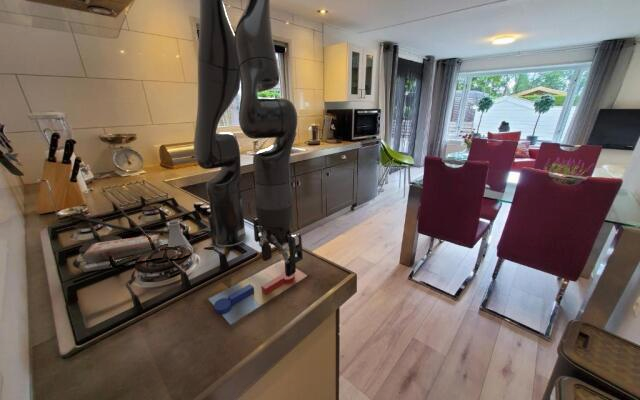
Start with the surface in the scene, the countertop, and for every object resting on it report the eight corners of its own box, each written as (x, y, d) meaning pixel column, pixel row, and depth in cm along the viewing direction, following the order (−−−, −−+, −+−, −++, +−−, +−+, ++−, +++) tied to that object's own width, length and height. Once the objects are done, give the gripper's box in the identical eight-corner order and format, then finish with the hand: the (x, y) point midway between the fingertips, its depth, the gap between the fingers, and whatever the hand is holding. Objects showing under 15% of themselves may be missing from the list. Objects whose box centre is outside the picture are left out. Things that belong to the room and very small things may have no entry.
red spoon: (268, 297, 56) (267, 291, 55) (259, 290, 58) (258, 283, 58) (297, 279, 62) (297, 273, 61) (288, 273, 64) (288, 267, 64)
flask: (191, 244, 77) (185, 214, 74) (196, 255, 72) (190, 224, 68) (164, 251, 73) (156, 221, 70) (167, 263, 68) (159, 231, 64)
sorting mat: (230, 327, 49) (230, 324, 49) (208, 300, 56) (208, 298, 55) (307, 277, 64) (307, 275, 63) (282, 261, 70) (282, 259, 70)
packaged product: (76, 257, 62) (93, 238, 70) (83, 274, 64) (98, 253, 72) (160, 244, 68) (166, 228, 77) (164, 259, 70) (169, 241, 78)
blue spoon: (248, 288, 59) (247, 281, 58) (256, 295, 57) (256, 288, 56) (211, 308, 53) (210, 301, 52) (219, 317, 51) (218, 310, 50)
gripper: (311, 205, 50) (311, 272, 56) (268, 189, 59) (272, 248, 65) (281, 216, 45) (285, 289, 51) (239, 197, 54) (247, 261, 60)
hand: (278, 266), depth 58 cm, fingers open, 8 cm apart
